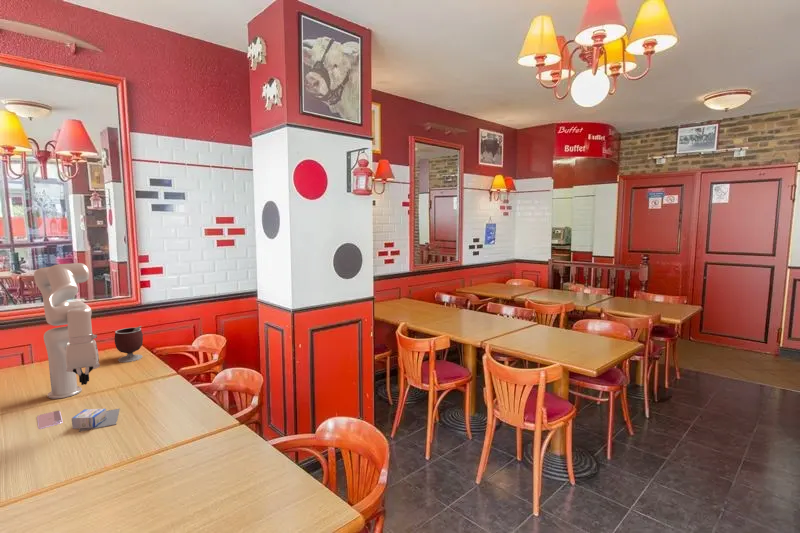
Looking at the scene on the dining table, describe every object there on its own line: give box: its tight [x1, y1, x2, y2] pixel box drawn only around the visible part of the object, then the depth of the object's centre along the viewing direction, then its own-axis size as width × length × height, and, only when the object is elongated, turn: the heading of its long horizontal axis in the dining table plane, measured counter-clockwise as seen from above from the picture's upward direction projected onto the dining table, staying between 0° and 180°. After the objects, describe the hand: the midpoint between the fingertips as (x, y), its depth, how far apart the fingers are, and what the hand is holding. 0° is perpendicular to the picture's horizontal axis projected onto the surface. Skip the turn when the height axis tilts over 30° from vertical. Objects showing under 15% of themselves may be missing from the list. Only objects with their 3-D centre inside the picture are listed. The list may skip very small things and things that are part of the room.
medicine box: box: [71, 408, 107, 429], centre depth 171 cm, size 8×4×9 cm
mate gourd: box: [114, 325, 144, 363], centre depth 250 cm, size 16×14×20 cm
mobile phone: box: [36, 410, 63, 430], centre depth 176 cm, size 8×1×15 cm
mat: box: [78, 408, 121, 433], centre depth 175 cm, size 16×12×1 cm
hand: (84, 383), depth 172 cm, fingers closed
